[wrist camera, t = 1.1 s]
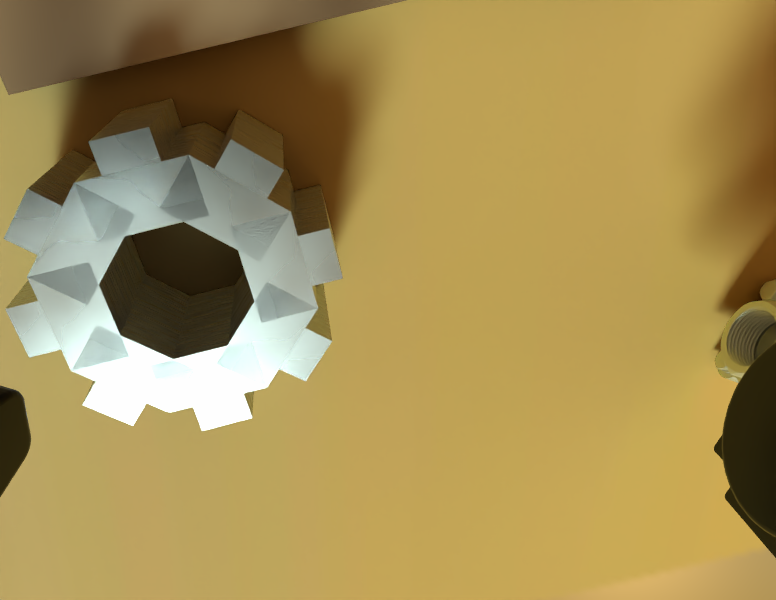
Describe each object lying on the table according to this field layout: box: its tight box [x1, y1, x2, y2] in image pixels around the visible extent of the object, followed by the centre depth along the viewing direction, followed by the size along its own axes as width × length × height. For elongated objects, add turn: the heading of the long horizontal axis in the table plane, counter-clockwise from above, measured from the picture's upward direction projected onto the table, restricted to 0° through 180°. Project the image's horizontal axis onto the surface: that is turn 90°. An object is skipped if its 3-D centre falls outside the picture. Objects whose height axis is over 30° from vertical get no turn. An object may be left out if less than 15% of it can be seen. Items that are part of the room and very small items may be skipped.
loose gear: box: [4, 99, 343, 431], centre depth 17 cm, size 7×7×4 cm
